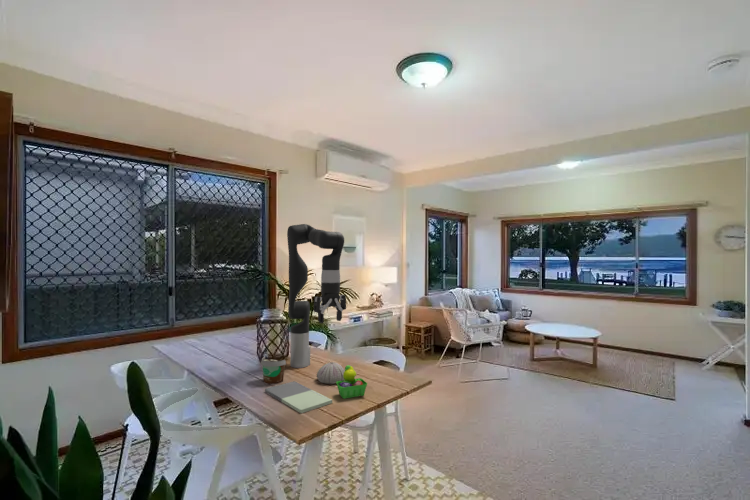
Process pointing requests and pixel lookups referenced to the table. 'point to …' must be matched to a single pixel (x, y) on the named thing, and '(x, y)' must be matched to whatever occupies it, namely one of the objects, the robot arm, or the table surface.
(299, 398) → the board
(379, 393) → the table surface
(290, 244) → the robot arm
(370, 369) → the table surface
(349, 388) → the fruit basket
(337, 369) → the sea urchin shell
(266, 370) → the food container
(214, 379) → the table surface
